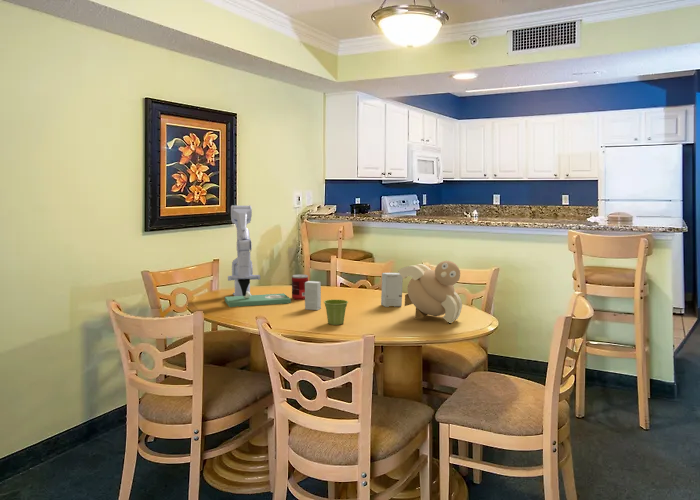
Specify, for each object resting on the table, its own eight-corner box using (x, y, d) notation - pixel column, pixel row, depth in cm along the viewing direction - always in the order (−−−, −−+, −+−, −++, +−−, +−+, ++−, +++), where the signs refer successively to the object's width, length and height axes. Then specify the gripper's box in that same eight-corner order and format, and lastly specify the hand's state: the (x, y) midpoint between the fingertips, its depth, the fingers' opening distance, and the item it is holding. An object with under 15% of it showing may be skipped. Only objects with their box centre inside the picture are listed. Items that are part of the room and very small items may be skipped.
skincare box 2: (385, 307, 247) (385, 274, 245) (380, 304, 252) (381, 272, 251) (402, 306, 249) (403, 273, 248) (397, 303, 255) (398, 271, 253)
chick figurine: (420, 239, 214) (444, 235, 233) (377, 288, 226) (403, 280, 245) (475, 296, 204) (494, 287, 223) (426, 344, 216) (449, 332, 235)
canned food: (309, 296, 269) (309, 274, 268) (306, 300, 261) (306, 277, 260) (293, 296, 270) (293, 274, 269) (290, 299, 262) (290, 276, 261)
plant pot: (323, 320, 221) (323, 299, 220) (346, 320, 221) (347, 299, 220) (324, 326, 211) (324, 304, 210) (348, 326, 212) (348, 303, 211)
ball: (243, 289, 254) (251, 290, 255) (242, 296, 255) (250, 298, 255) (243, 291, 251) (251, 293, 251) (242, 299, 251) (249, 300, 252)
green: (224, 301, 257) (224, 296, 257) (283, 297, 267) (283, 293, 267) (229, 307, 244) (229, 302, 244) (290, 303, 254) (290, 298, 254)
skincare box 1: (321, 308, 243) (321, 281, 242) (317, 310, 239) (317, 283, 238) (308, 307, 245) (308, 280, 244) (304, 309, 241) (304, 282, 240)
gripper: (229, 267, 245) (229, 297, 246) (261, 266, 250) (261, 296, 251) (227, 265, 252) (227, 295, 252) (258, 265, 256) (258, 294, 257)
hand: (244, 295), depth 252 cm, fingers closed, pressing on ball
